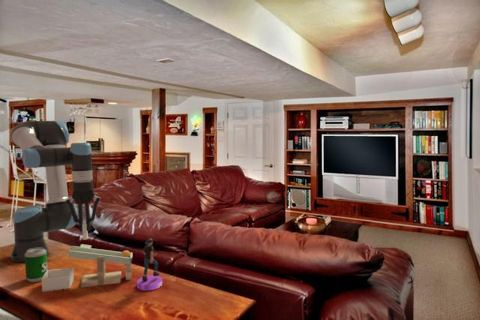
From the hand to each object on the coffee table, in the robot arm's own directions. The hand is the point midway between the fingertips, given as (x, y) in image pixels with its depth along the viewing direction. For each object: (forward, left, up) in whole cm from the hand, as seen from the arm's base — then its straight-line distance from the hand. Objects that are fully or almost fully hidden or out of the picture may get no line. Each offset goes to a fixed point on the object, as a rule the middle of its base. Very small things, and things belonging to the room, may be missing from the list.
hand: (85, 238), depth 144 cm
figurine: (+17, +25, -15) cm, 34 cm away
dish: (+8, -9, -15) cm, 19 cm away
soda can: (-1, -18, -15) cm, 24 cm away
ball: (+8, +16, -6) cm, 19 cm away
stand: (+9, +9, -15) cm, 19 cm away
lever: (+4, +6, -6) cm, 10 cm away
